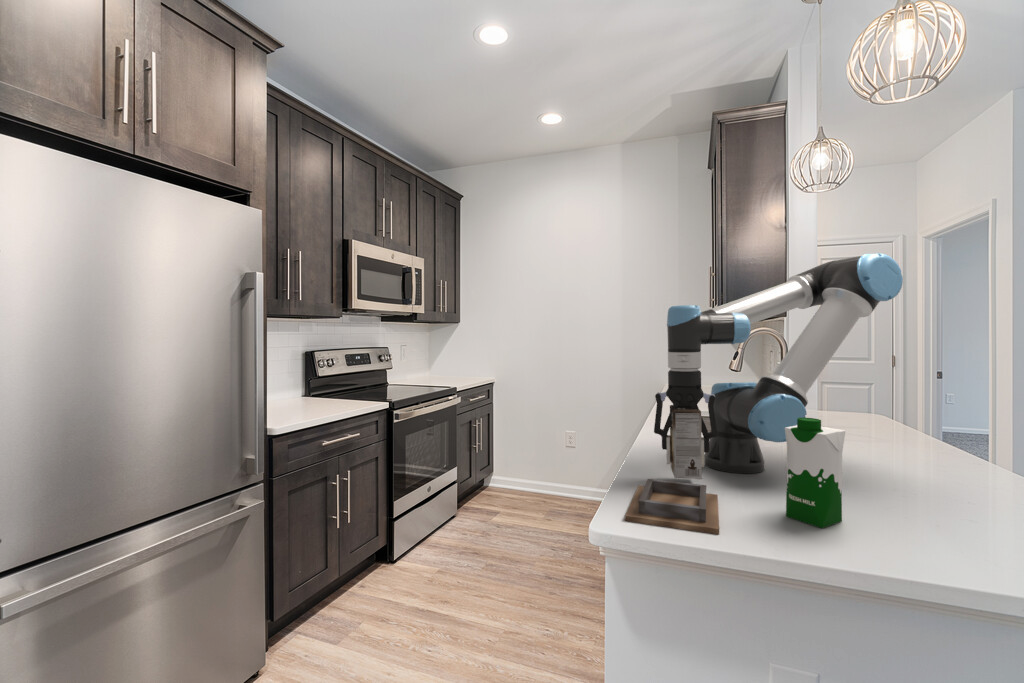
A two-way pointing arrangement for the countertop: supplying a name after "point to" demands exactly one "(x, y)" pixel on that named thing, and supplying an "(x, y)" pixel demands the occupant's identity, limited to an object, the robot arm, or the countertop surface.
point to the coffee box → (686, 443)
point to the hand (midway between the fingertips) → (685, 463)
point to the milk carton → (814, 473)
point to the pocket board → (675, 506)
